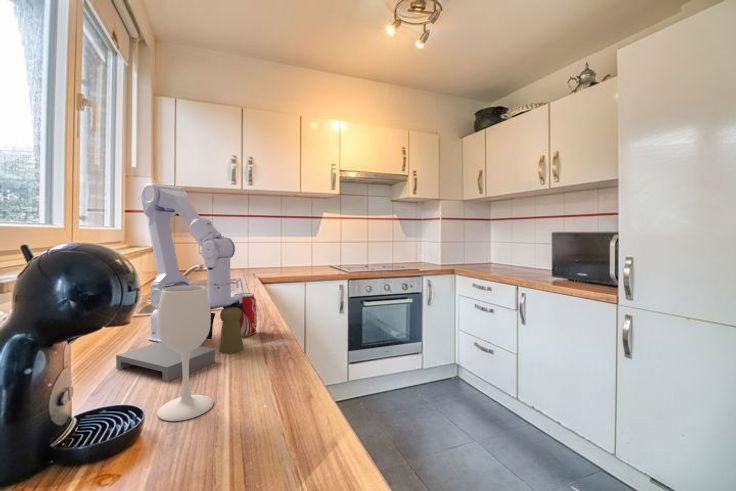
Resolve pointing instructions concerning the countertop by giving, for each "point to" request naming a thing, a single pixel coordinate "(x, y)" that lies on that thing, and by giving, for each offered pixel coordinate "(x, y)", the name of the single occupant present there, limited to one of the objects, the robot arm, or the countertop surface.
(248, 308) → the soda can
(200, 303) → the wineglass
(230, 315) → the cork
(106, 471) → the countertop surface
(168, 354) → the gray flat panel
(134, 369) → the countertop surface
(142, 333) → the countertop surface
